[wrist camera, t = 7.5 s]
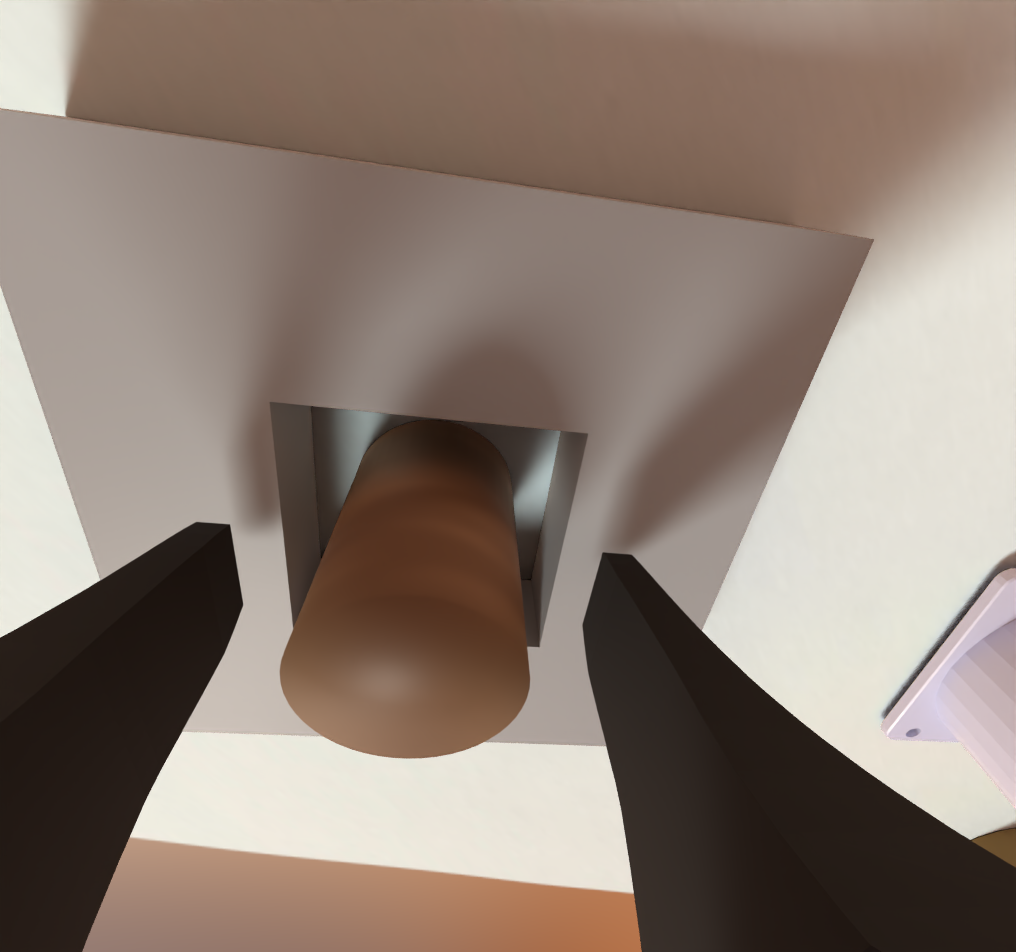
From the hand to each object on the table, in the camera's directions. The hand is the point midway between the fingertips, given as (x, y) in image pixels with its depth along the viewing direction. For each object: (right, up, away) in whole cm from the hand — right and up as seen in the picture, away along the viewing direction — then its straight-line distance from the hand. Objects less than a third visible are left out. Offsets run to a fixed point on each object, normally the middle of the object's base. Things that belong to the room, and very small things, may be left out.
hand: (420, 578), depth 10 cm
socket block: (0, +2, +3) cm, 4 cm away
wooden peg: (0, +2, +3) cm, 4 cm away
